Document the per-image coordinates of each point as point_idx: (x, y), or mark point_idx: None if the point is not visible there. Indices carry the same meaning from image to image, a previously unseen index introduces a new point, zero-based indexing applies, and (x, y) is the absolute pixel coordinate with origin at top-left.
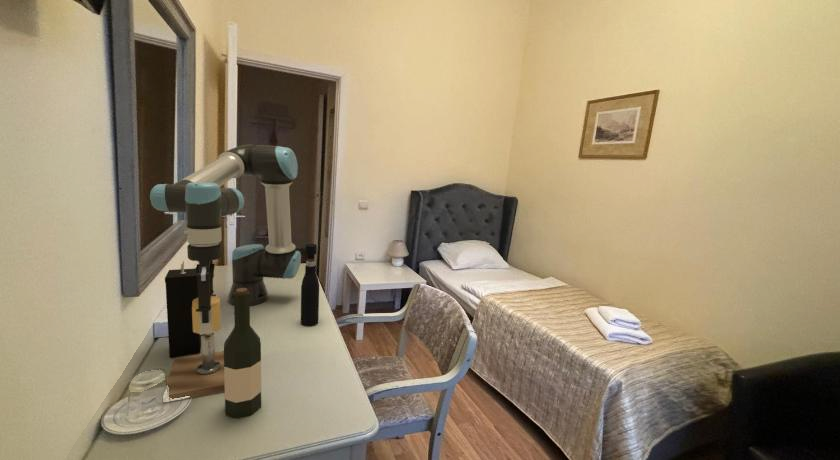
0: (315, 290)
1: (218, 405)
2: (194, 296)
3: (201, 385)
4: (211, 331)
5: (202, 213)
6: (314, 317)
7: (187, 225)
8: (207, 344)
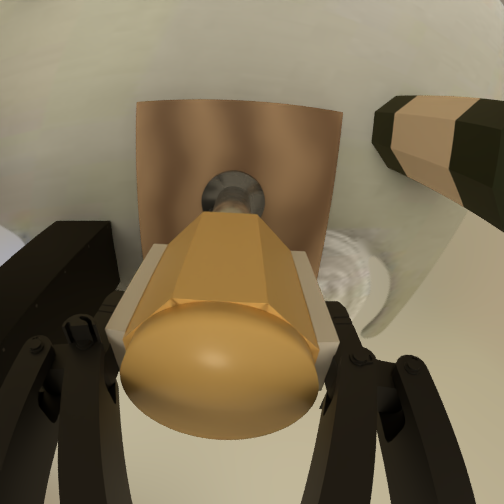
0: None
1: (375, 179)
2: (13, 346)
3: (313, 217)
4: (307, 258)
5: None
6: None
7: None
8: None
